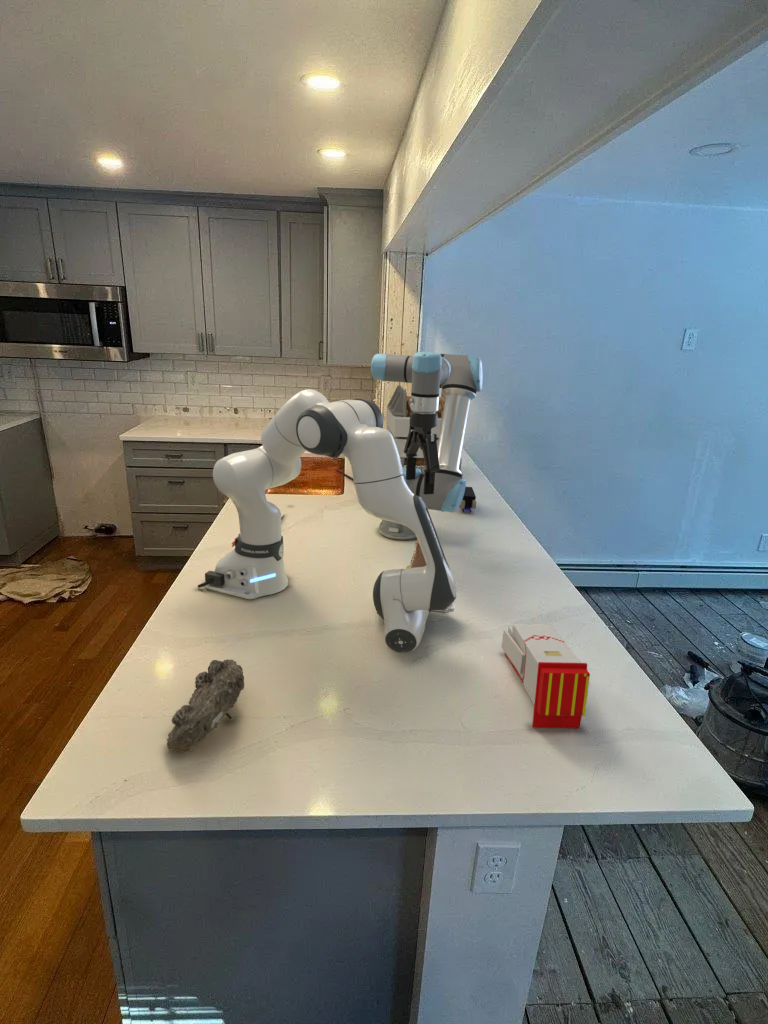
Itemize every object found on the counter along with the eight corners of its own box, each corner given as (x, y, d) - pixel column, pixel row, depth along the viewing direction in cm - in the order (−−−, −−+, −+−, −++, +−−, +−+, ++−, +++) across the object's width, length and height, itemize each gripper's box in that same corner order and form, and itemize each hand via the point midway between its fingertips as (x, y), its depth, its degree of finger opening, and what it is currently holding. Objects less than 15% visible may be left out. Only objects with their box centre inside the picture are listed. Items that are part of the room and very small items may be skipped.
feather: (291, 508, 223) (294, 504, 222) (274, 533, 196) (277, 528, 195) (287, 506, 222) (290, 502, 222) (270, 530, 196) (272, 526, 195)
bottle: (404, 603, 153) (408, 540, 147) (417, 598, 156) (421, 536, 150) (416, 610, 149) (420, 546, 143) (429, 605, 152) (434, 542, 146)
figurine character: (476, 517, 222) (470, 501, 236) (478, 500, 219) (472, 484, 232) (459, 517, 222) (454, 501, 236) (461, 499, 219) (456, 484, 232)
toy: (548, 608, 134) (599, 669, 104) (543, 661, 136) (591, 735, 107) (497, 607, 133) (533, 668, 104) (493, 660, 136) (527, 734, 107)
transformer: (382, 463, 289) (386, 382, 275) (445, 464, 293) (451, 384, 279) (390, 482, 257) (394, 392, 243) (460, 483, 261) (468, 394, 247)
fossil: (192, 660, 117) (244, 628, 112) (224, 691, 120) (276, 661, 115) (142, 746, 98) (202, 712, 93) (182, 779, 101) (242, 748, 96)
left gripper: (454, 601, 136) (458, 576, 149) (371, 590, 139) (382, 567, 152) (452, 624, 138) (456, 598, 151) (370, 613, 141) (381, 588, 154)
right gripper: (395, 403, 163) (392, 474, 171) (429, 421, 141) (423, 501, 148) (419, 403, 165) (415, 473, 173) (456, 420, 143) (449, 499, 151)
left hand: (418, 582), depth 151 cm, fingers open, 8 cm apart
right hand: (419, 486), depth 161 cm, fingers open, 13 cm apart
